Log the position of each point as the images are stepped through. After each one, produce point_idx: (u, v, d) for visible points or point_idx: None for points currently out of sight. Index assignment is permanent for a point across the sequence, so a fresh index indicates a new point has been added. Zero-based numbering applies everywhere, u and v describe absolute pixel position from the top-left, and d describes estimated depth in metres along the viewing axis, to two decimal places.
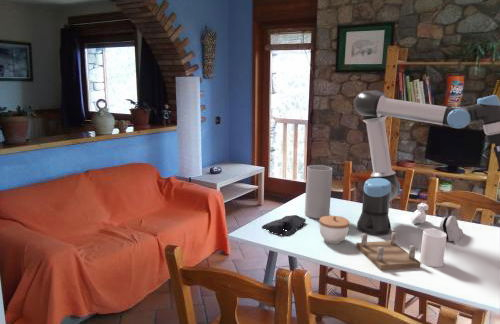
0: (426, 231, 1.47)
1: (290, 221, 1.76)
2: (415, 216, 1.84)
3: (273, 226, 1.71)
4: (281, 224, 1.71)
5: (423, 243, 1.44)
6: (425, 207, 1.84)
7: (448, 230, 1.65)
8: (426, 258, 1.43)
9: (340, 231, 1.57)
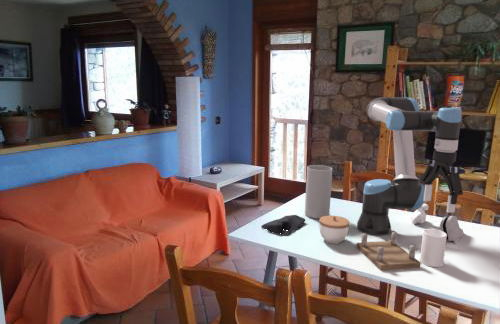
0: (426, 231, 1.47)
1: (289, 221, 1.76)
2: (415, 216, 1.84)
3: (272, 226, 1.71)
4: (280, 224, 1.71)
5: (423, 243, 1.44)
6: (425, 207, 1.84)
7: (448, 230, 1.65)
8: (426, 258, 1.43)
9: (340, 231, 1.57)
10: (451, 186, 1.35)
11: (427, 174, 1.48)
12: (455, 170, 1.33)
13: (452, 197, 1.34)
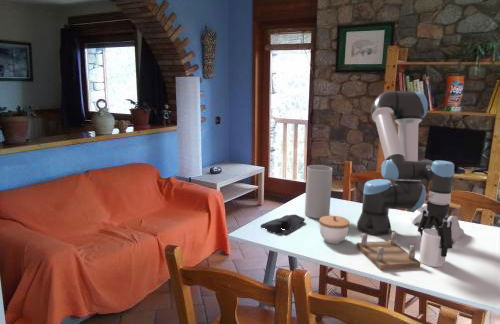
0: (426, 231, 1.47)
1: (288, 220, 1.77)
2: (415, 216, 1.84)
3: (271, 225, 1.72)
4: (279, 223, 1.72)
5: (423, 243, 1.44)
6: (425, 207, 1.84)
7: None
8: (426, 258, 1.43)
9: (340, 231, 1.57)
10: (442, 239, 1.40)
11: (423, 224, 1.51)
12: (447, 225, 1.37)
13: (442, 250, 1.40)
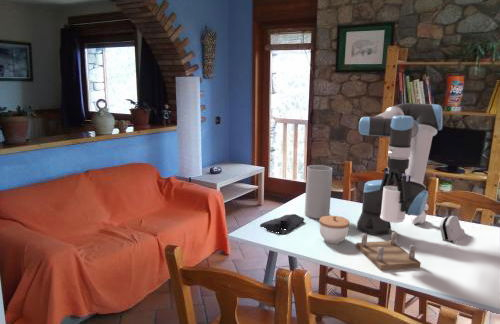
0: (387, 188, 1.46)
1: (288, 220, 1.77)
2: (415, 216, 1.84)
3: (270, 224, 1.73)
4: (278, 223, 1.73)
5: (383, 199, 1.43)
6: (425, 207, 1.84)
7: (448, 229, 1.65)
8: (386, 214, 1.42)
9: (340, 231, 1.57)
10: (401, 194, 1.39)
11: (384, 182, 1.50)
12: (406, 179, 1.36)
13: (401, 205, 1.39)
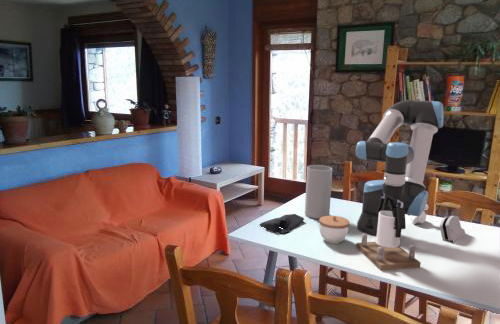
0: (382, 213, 1.48)
1: (287, 220, 1.78)
2: (415, 216, 1.84)
3: (270, 224, 1.73)
4: (277, 222, 1.73)
5: (378, 224, 1.45)
6: (425, 207, 1.84)
7: (448, 229, 1.65)
8: (381, 239, 1.44)
9: (340, 231, 1.57)
10: (396, 220, 1.41)
11: (380, 207, 1.52)
12: (401, 206, 1.38)
13: (396, 231, 1.41)
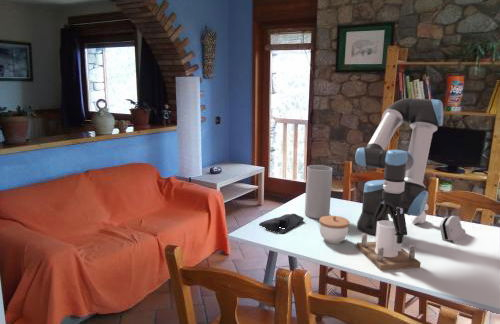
0: (381, 222, 1.49)
1: (287, 219, 1.78)
2: (415, 216, 1.84)
3: (269, 223, 1.74)
4: (277, 222, 1.74)
5: (377, 234, 1.47)
6: (425, 207, 1.84)
7: (447, 229, 1.66)
8: None
9: (340, 231, 1.57)
10: (397, 226, 1.40)
11: (379, 211, 1.53)
12: (400, 211, 1.39)
13: (398, 237, 1.40)
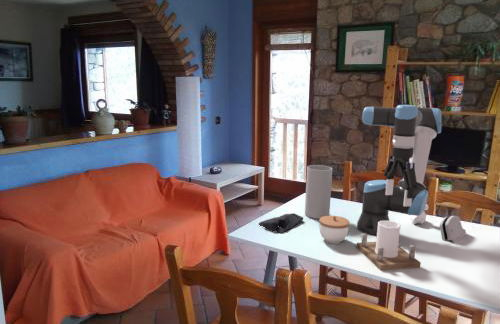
0: (382, 223, 1.49)
1: (286, 219, 1.78)
2: (415, 216, 1.84)
3: (268, 223, 1.74)
4: (276, 221, 1.74)
5: (377, 234, 1.47)
6: (425, 207, 1.84)
7: (447, 229, 1.66)
8: None
9: (340, 231, 1.57)
10: (407, 181, 1.39)
11: (388, 169, 1.53)
12: (410, 166, 1.38)
13: (408, 192, 1.39)
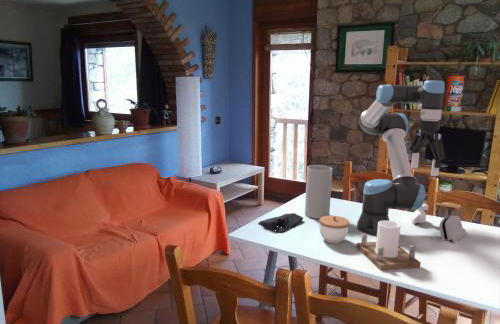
0: (382, 223, 1.49)
1: (285, 218, 1.79)
2: (415, 216, 1.84)
3: (267, 223, 1.75)
4: (275, 221, 1.75)
5: (377, 234, 1.47)
6: (425, 207, 1.84)
7: (447, 229, 1.66)
8: None
9: (340, 231, 1.57)
10: (435, 151, 1.48)
11: (414, 143, 1.61)
12: (438, 137, 1.46)
13: (436, 161, 1.47)
